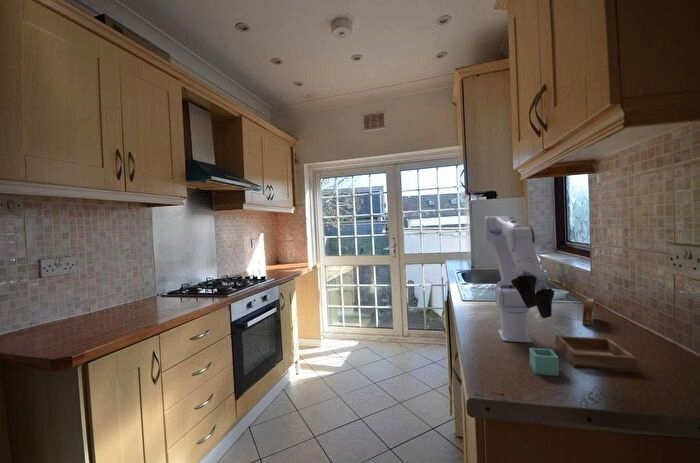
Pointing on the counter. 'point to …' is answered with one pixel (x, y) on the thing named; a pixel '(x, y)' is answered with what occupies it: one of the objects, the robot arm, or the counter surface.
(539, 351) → the small crate
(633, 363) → the big crate
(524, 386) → the counter surface
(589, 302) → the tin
